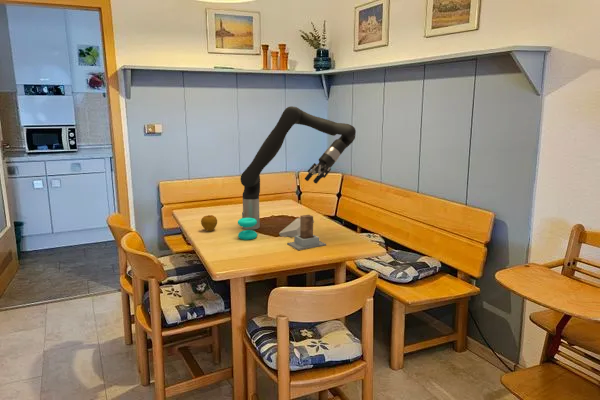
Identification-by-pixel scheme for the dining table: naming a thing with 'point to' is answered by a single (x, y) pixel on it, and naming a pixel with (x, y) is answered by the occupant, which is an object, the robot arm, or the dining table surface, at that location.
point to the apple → (209, 222)
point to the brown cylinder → (306, 226)
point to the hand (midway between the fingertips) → (310, 181)
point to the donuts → (247, 233)
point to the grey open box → (306, 243)
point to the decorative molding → (292, 229)
